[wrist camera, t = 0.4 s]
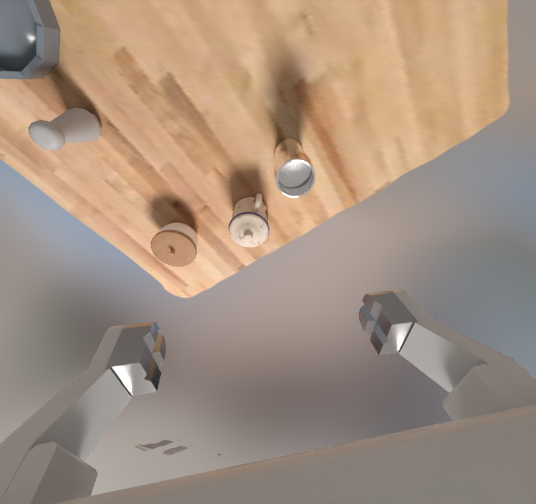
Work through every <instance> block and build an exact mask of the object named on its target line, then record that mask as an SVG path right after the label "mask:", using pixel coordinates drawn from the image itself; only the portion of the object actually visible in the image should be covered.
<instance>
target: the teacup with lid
mask: <svg viewBox="0 0 536 504" xmlns="http://www.w3.org/2000/svg"><path fill="white" fill-rule="evenodd" d="M229 233H230V236H231V238H232V239H233V240H234V241H235V242H236V243H237V244H239V245H241V246H244V247H255V246H258V245H260V244H262V243H263V242H264V241H265V240H266V238H267V237H268V234H269V226H268V210H267V207H266V205H265V204H264V203H263V202H262V195H261V194H259V193H257V194H256V196H255V198H254V197H246V198H243V199H241V200H239V201H238V202H237V203H236V205H235V207H234V211H233V215H232V220H231V222H230V224H229Z"/></svg>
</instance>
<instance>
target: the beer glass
mask: <svg viewBox="0 0 536 504" xmlns="http://www.w3.org/2000/svg"><path fill="white" fill-rule="evenodd" d="M274 155H275V164H274V176H275V180H276V184H277V187H278V189H279V190H280V191H281V192H282V193H283V194H284V195H286V196H288V197H300V196H303V195H305V194H306V193H307V192H309V191H310V190H311V188H312V187H313V185H314V182H315V171H314V168H313V164H312V162H311V160H310V158H309V156H308V155H307V154H306V153H305V152H304V151H303V150H302V147H301V145H300V143H299V142H298V141H296V140H294V139H285V140H283V141H281V142H280V143H279V144H278V145H277V147H276V149H275V154H274Z"/></svg>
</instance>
